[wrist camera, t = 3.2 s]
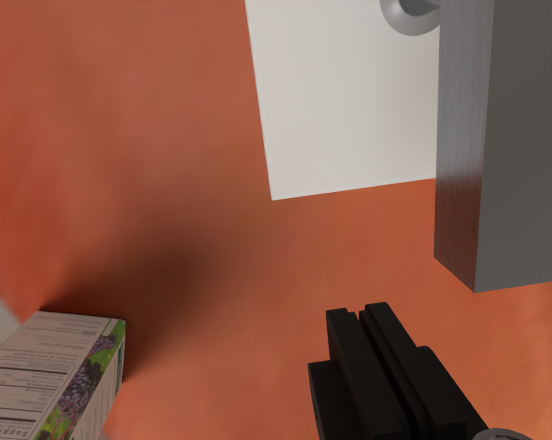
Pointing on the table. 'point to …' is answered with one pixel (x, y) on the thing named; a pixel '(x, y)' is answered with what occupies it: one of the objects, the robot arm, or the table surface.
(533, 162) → the t key
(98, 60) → the table surface
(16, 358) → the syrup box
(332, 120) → the key plate
